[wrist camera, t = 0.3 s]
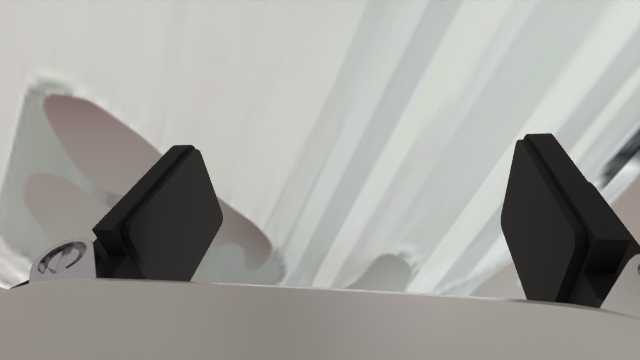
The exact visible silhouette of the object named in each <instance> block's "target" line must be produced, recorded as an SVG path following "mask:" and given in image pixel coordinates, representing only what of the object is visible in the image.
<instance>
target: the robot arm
mask: <svg viewBox="0 0 640 360" xmlns="http://www.w3.org/2000/svg"><path fill="white" fill-rule="evenodd" d="M222 221H223V215H222V211H221V208H220V206H219V203H218V200H217V197H216V194H215V191H214V189H213V186H212V183H211V180H210V177H209V175H208V172H207V169H206V166H205V163H204V160H203V158H202V155H201V153H200V151H199V150H198V149H195V147H194V146H192V145H175V146H172V147H171V148H170V149H169V150H168V151H167V152H166V153H165V154H164V155H163V156H162V158H161V159H160V160H159V161H158V162H157V163H156V164H155V165H154V166H153V167H152V168H151V169H150V170H149V171H148V172H147V173H146V174H145V175H144V176H143V177H142V178H141V179H140V180H139V181H138V182H137V184H135V185H134V186H133V187H132V188H131V190H130V191H129V192H128V193H127V194H126V195H125V196H124V197H123V198H122V199H121V200H120V201H119V202H118V203H117V204H116V205H115V206H114V207H113V208H112V209H111V210H110V211H109V212H108V213H107V215H105V216H104V217H103V219H102V220H101V221H100V222H99V223H98V224H97V225H96V226H95V227H94V228H93V229H92V230H93V232H94V233H95V235H96V237H97V239H96V240H95V241H94V242H92V241H91V240H90V239H88V238H82V237H80V238H73V239H69V240H66V241H63V242H61V243H59V244H56V245H54V246H53V247H51V248H50V249H48V250H46V251H45V252H44V253H43V254H42V255H40V256H39V257H38V258H37V259H36V261H35V262H34V263H33V265H32V268H31V270H30V278H29V280H28V281H25V282H23V283H21V284H19V285H17V286H15V287H12V288H10V289H8V290H5V291H3V292H0V360H640V245H639V244H638V243H637V242H636V240H635V239H634V238H633V236H632V235H631V234H630V232H629V231H628V230H627V228H626V227H625V226H624V224H623V223H622V222H621V221H620V219H619V218H618V217H617V215H616V214H615V213H614V211H613V210H612V209H611V207H610V206H609V205H608V203H607V202H606V201H605V199H604V198H603V197H602V196H601V194H600V193H599V192H598V190H597V189H596V188H595V186H594V185H593V184H592V183H590V182H588V181H587V180H586V179H585V177H584V176H583V175H582V173H581V172H580V171H579V169H578V168H577V167H576V165H575V164H574V163H573V161H572V160H571V159H570V157H569V156H568V154H567V153H566V152H565V150H564V149H563V148H562V146H561V145H560V144H559V142H558V141H557V140H556V138H555V137H554V136H553V135H552V134H550V133H548V134H527V135H525V137H524V139H523V140H518V141H517V142H516V146H515V150H514V155H513V160H512V165H511V170H510V175H509V180H508V185H507V190H506V194H505V199H504V204H503V209H502V214H501V227H502V231H503V233H504V236H505V239H506V242H507V245H508V247H509V250H510V253H511V256H512V259H513V261H514V264H515V267H516V270H517V273H518V275H519V278H520V281H521V284H522V287H523V289H524V292H525V295H526V298H527V300H522V299H511V298H493V297H478V296H477V297H476V296H463V295H446V294H428V293H410V292H392V291H374V290H354V289H336V288H317V287H297V286H277V285H256V284H236V283H213V282H212V283H211V282H190V280H191V278H192V276H193V275H194V273H195V271H196V269H197V268H198V266H199V264H200V262H201V260H202V259H203V257H204V255H205V253H206V251H207V250H208V248H209V246H210V244H211V242H212V240H213V239H214V237H215V235H216V233H217V231H218V230H219V228H220V226H221V224H222Z"/></svg>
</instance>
